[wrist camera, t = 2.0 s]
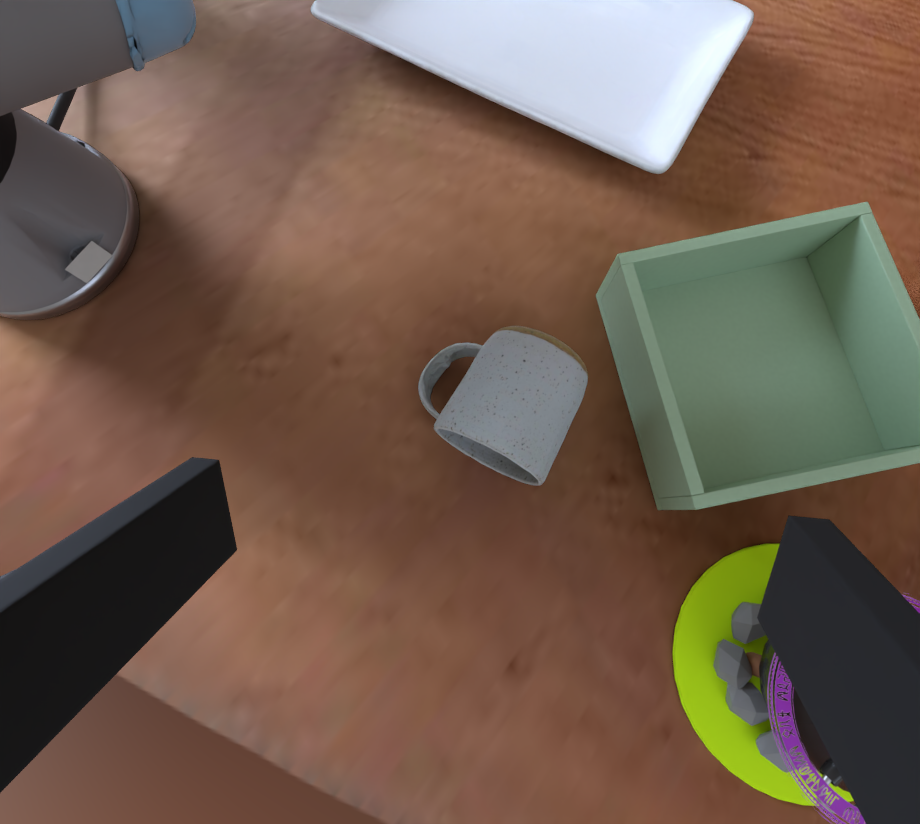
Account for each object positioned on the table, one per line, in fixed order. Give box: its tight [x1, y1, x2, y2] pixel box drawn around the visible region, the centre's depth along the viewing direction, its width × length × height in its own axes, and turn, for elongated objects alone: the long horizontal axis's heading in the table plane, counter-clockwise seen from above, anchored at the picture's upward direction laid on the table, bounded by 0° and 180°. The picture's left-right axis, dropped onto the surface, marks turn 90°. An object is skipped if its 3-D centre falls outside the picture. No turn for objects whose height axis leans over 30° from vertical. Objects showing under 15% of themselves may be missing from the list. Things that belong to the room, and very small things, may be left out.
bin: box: [596, 202, 920, 510], centre depth 31 cm, size 16×16×6 cm
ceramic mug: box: [418, 326, 588, 485], centre depth 30 cm, size 11×8×8 cm
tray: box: [311, 0, 754, 174], centre depth 38 cm, size 17×31×4 cm, turn 59°
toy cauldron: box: [672, 544, 920, 824], centre depth 24 cm, size 15×15×11 cm
